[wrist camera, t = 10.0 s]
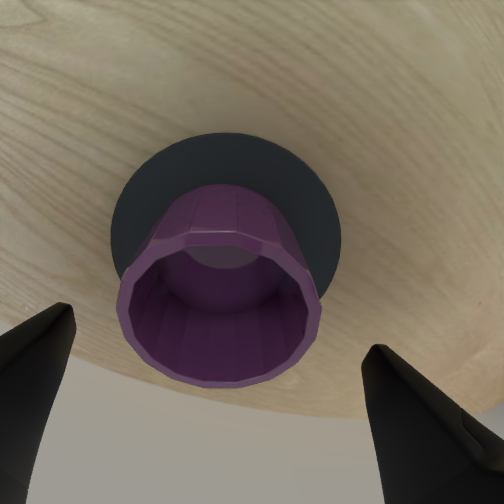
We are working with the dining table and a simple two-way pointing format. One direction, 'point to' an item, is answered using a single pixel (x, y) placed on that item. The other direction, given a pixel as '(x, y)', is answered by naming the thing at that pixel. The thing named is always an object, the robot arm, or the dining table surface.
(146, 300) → the purple cup
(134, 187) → the coaster
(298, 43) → the dining table surface
